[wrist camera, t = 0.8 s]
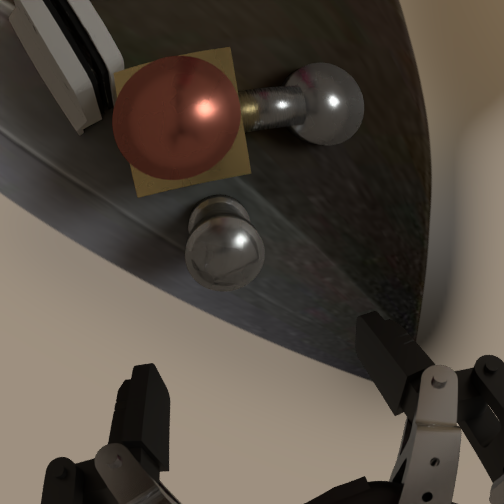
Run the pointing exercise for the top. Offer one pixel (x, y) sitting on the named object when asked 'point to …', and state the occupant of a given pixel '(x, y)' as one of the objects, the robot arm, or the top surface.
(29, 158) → the top surface
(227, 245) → the door knob
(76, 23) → the hinge
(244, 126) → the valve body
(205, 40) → the top surface
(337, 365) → the top surface
